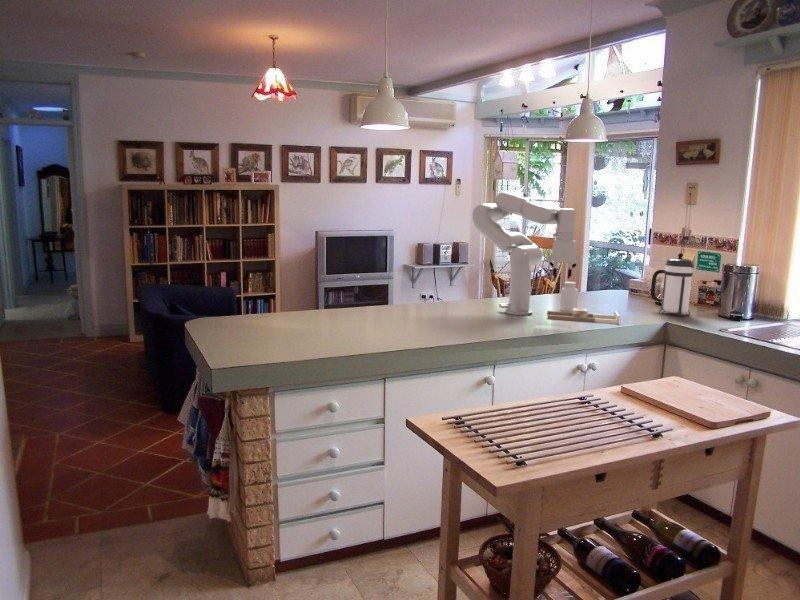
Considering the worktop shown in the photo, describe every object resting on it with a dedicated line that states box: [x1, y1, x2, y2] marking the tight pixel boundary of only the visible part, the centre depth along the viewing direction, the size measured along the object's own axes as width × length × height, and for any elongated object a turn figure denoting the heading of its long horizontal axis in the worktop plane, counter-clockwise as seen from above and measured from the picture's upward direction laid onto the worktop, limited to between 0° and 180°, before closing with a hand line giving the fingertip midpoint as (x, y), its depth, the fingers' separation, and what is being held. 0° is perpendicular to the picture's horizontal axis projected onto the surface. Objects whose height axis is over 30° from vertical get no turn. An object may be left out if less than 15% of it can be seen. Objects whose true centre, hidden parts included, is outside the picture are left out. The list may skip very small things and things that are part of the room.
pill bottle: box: [559, 281, 579, 312], centre depth 302 cm, size 8×8×15 cm
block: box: [572, 307, 589, 318], centre depth 282 cm, size 6×6×4 cm
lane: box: [546, 310, 620, 325], centre depth 282 cm, size 30×12×5 cm, turn 78°
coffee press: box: [650, 252, 696, 318], centre depth 309 cm, size 17×16×30 cm
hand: (561, 277), depth 281 cm, fingers open, 5 cm apart
